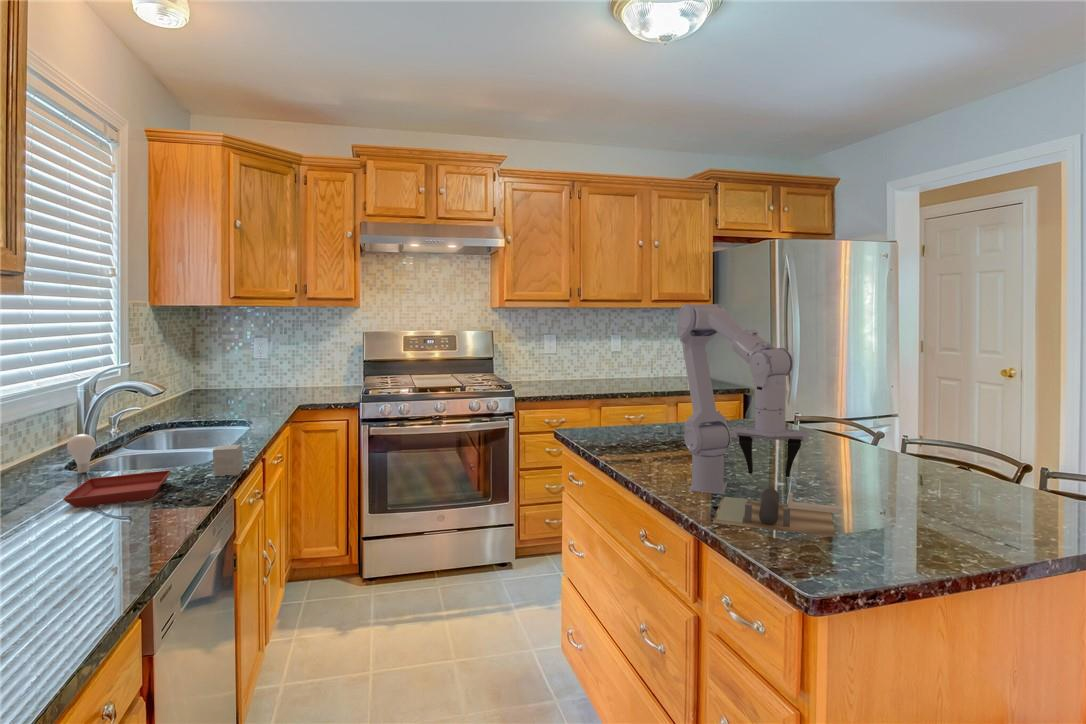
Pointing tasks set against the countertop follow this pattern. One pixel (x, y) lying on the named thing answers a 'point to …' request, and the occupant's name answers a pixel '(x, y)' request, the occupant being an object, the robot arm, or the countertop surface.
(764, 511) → the dark grey rod
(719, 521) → the board
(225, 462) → the product box
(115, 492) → the plant saucer
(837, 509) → the beige l-shaped block
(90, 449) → the lightbulb
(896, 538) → the countertop surface
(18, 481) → the countertop surface
